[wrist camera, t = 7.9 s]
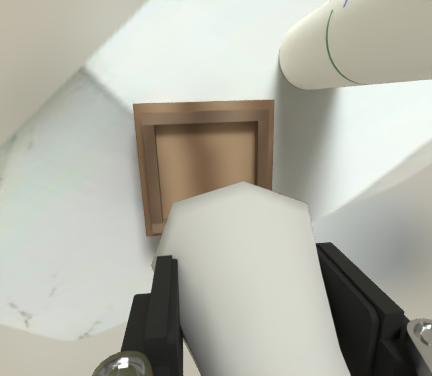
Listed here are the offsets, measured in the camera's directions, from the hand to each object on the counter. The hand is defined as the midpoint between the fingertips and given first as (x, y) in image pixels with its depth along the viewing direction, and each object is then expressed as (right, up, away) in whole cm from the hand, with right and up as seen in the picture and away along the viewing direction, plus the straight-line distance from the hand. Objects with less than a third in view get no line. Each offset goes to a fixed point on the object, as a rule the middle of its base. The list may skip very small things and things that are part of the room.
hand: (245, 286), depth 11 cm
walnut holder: (-2, +7, +23) cm, 24 cm away
